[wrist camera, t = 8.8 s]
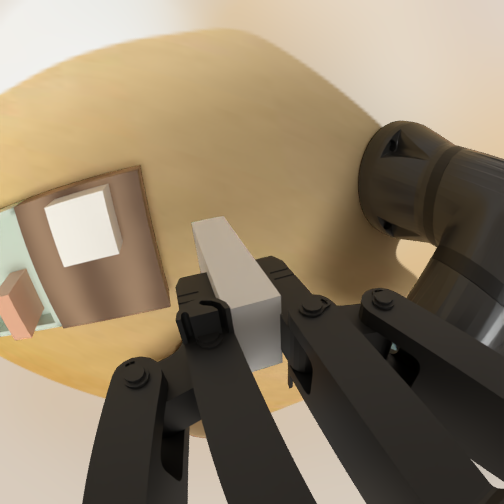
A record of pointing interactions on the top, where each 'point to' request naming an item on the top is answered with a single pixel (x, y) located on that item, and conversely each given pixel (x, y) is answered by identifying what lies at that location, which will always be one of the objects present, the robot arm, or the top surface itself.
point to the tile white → (84, 226)
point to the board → (104, 269)
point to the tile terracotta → (20, 305)
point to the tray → (20, 266)
